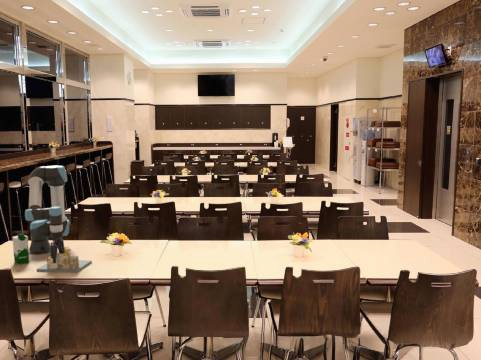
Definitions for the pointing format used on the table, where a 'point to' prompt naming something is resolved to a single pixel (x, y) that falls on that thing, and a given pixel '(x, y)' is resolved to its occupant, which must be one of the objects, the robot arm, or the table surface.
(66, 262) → the link
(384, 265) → the table surface
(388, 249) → the table surface
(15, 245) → the milk carton
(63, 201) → the robot arm
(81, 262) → the deck
